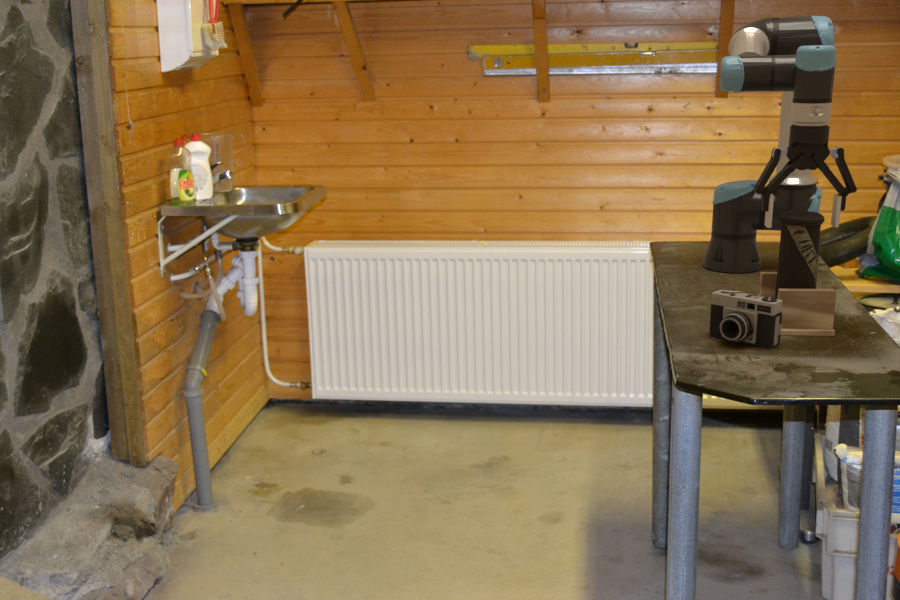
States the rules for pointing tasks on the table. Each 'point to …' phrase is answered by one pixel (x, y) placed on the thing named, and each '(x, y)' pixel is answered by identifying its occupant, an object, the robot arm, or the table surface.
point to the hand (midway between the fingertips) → (801, 226)
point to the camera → (746, 318)
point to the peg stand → (802, 307)
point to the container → (798, 250)
